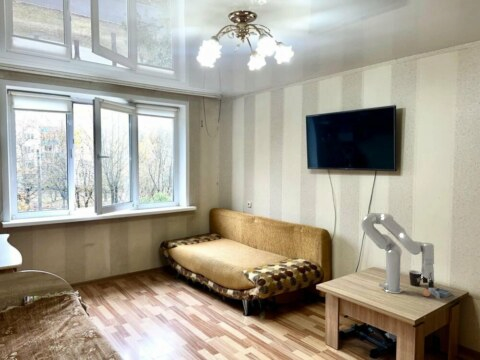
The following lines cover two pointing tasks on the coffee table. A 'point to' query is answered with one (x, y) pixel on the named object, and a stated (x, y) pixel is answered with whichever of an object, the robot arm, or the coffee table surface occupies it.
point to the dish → (443, 292)
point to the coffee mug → (415, 278)
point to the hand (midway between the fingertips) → (428, 285)
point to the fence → (434, 293)
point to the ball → (426, 292)
